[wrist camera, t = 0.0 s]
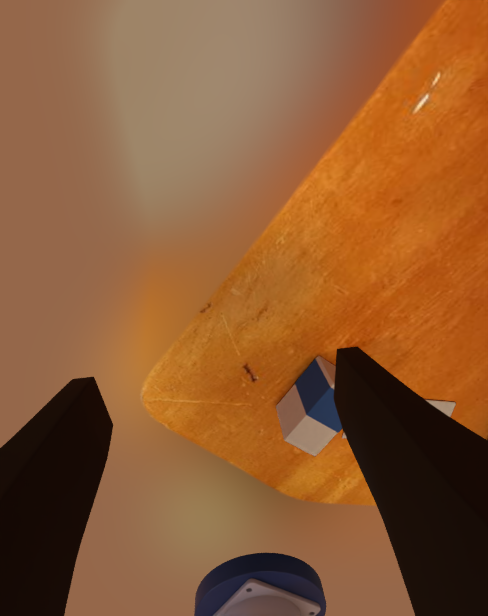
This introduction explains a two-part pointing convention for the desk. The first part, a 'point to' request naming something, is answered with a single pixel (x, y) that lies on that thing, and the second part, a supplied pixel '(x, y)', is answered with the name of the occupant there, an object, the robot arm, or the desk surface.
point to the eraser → (310, 409)
